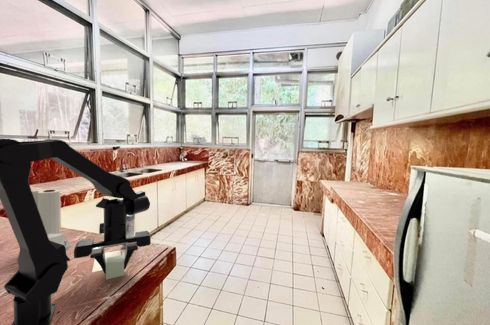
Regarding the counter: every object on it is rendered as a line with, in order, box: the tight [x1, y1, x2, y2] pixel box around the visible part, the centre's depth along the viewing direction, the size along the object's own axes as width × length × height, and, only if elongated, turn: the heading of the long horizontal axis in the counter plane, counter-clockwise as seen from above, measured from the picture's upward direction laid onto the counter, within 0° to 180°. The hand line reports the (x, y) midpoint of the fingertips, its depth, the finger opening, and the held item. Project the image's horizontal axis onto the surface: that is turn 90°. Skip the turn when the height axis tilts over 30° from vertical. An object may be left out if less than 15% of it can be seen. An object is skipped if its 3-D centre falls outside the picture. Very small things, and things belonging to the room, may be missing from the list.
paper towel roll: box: [32, 189, 62, 235], centre depth 76 cm, size 7×6×21 cm
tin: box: [121, 214, 136, 250], centre depth 80 cm, size 4×4×12 cm
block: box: [105, 255, 125, 280], centre depth 63 cm, size 4×4×4 cm
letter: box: [91, 249, 126, 274], centre depth 71 cm, size 12×9×1 cm
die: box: [48, 233, 72, 252], centre depth 71 cm, size 8×9×10 cm
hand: (115, 270), depth 63 cm, fingers closed on block, 4 cm apart
